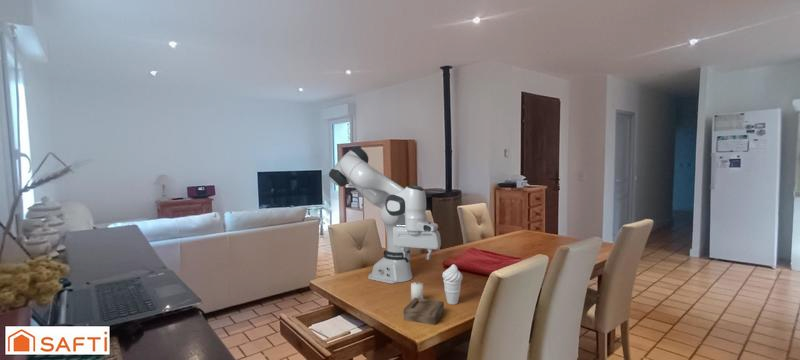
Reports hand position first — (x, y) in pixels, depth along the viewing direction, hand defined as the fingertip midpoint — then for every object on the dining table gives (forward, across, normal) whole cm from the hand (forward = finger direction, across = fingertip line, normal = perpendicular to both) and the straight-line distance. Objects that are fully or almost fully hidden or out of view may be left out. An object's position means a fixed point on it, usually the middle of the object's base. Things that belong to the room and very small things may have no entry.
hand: (416, 258), depth 152 cm
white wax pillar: (+18, 0, 0) cm, 18 cm away
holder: (+18, +7, -12) cm, 23 cm away
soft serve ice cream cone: (+19, +14, +4) cm, 24 cm away
